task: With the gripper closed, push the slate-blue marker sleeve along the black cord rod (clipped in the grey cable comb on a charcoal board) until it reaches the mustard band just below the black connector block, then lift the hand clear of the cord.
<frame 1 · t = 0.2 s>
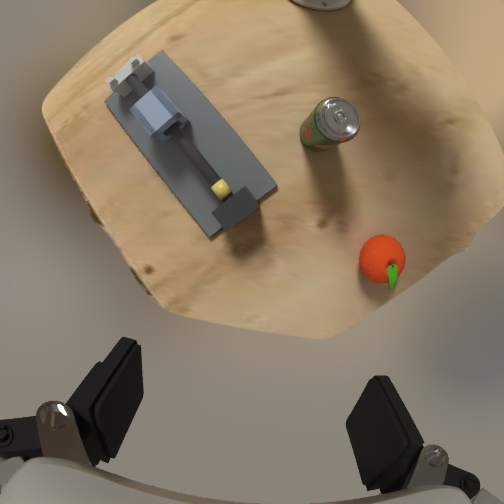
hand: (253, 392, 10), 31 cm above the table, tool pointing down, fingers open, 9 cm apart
cord assembly: (184, 137, 36), on the table
sleeve: (161, 115, 31), point 4 cm above the table, slide at -3.5 cm
soda can: (316, 134, 36), on the table
clementine: (373, 255, 40), on the table
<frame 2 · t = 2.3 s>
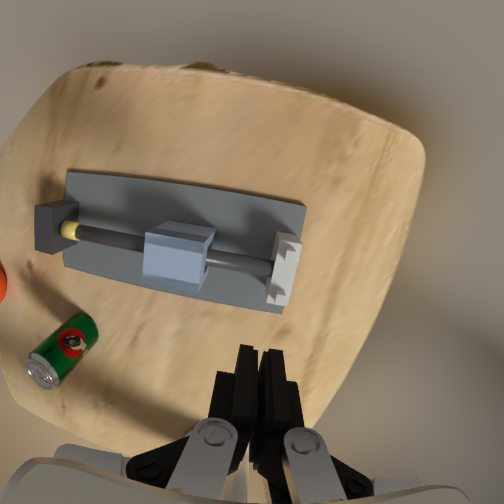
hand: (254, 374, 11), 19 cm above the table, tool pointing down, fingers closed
cord assembly: (161, 237, 29), on the table
sleeve: (181, 253, 25), point 4 cm above the table, slide at -3.5 cm
soda can: (86, 326, 33), on the table
clementine: (2, 276, 32), on the table
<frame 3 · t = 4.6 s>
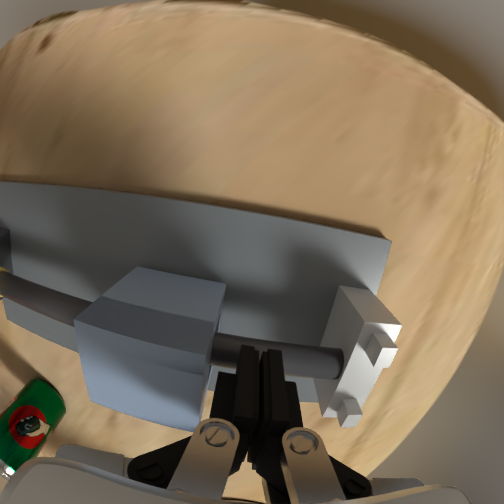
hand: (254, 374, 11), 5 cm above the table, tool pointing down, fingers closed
cord assembly: (130, 290, 16), on the table
sleeve: (159, 341, 12), point 4 cm above the table, slide at -3.4 cm, touching gripper
soda can: (50, 393, 20), on the table
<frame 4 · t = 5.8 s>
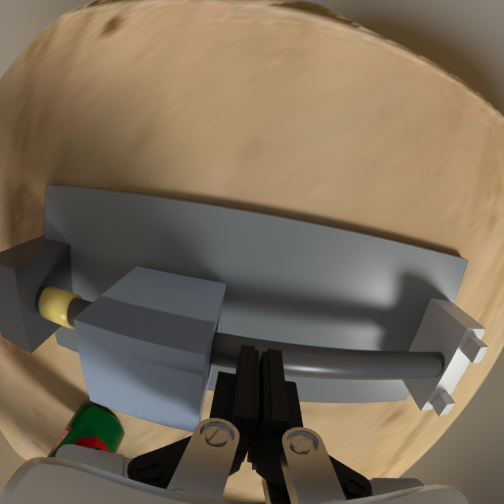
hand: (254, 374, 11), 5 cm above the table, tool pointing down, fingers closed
cord assembly: (237, 312, 16), on the table
sleeve: (159, 341, 12), point 4 cm above the table, slide at 3.4 cm, touching gripper
soda can: (103, 417, 20), on the table
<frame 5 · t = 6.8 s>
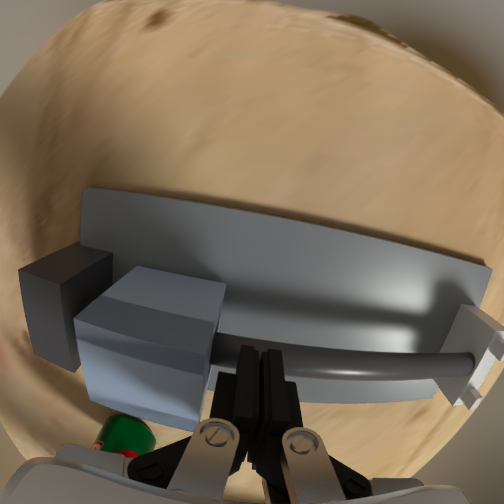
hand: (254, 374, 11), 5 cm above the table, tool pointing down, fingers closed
cord assembly: (292, 321, 16), on the table
sleeve: (159, 340, 12), point 4 cm above the table, slide at 6.7 cm, touching gripper
soda can: (132, 427, 20), on the table
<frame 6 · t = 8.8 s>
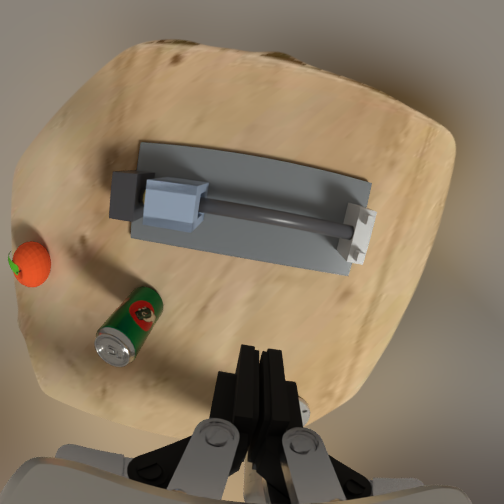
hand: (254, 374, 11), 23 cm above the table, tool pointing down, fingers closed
cord assembly: (243, 206, 32), on the table
sleeve: (177, 201, 28), point 4 cm above the table, slide at 6.7 cm
soda can: (148, 300, 36), on the table
clementine: (43, 255, 35), on the table
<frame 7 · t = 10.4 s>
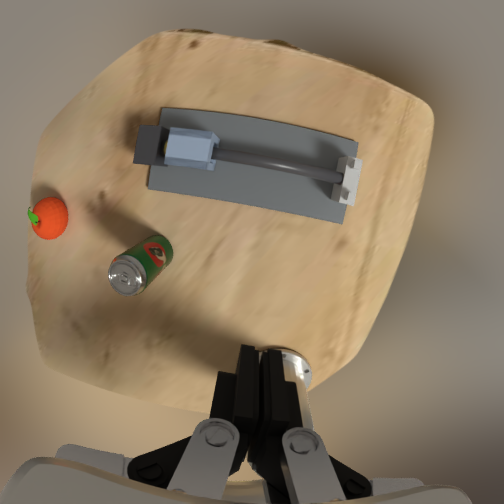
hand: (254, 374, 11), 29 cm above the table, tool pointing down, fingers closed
cord assembly: (248, 160, 36), on the table
sleeve: (193, 150, 32), point 4 cm above the table, slide at 6.7 cm
soda can: (159, 250, 40), on the table
clementine: (60, 213, 39), on the table
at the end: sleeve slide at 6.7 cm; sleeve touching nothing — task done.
